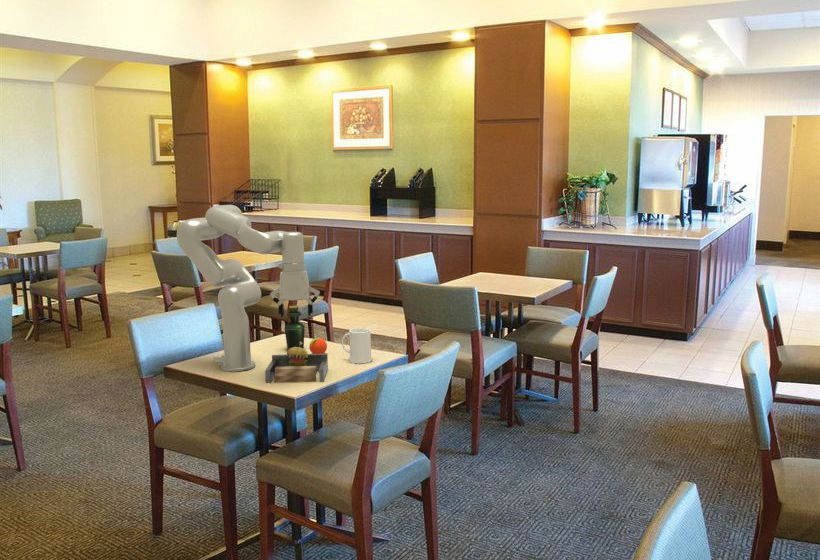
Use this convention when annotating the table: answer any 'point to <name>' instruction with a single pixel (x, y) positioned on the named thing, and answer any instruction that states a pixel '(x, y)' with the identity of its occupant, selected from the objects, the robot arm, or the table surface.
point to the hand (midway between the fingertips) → (296, 315)
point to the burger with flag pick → (297, 356)
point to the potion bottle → (294, 329)
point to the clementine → (318, 346)
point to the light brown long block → (295, 374)
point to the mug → (359, 345)
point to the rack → (312, 360)
